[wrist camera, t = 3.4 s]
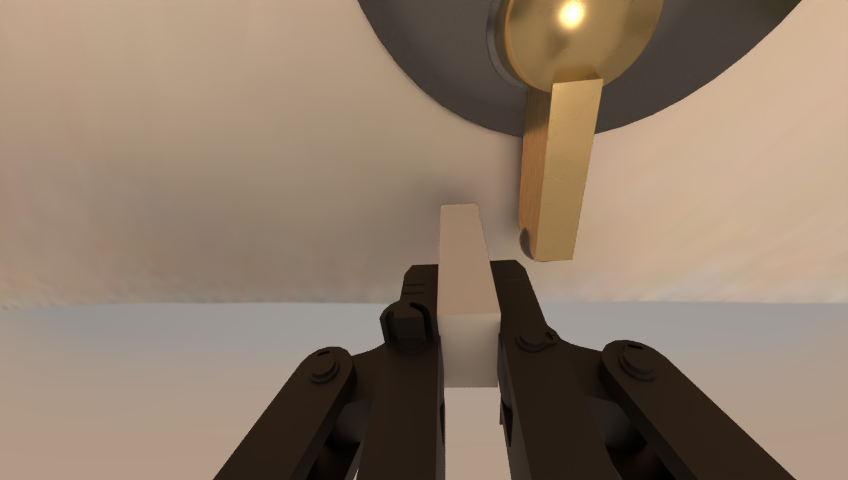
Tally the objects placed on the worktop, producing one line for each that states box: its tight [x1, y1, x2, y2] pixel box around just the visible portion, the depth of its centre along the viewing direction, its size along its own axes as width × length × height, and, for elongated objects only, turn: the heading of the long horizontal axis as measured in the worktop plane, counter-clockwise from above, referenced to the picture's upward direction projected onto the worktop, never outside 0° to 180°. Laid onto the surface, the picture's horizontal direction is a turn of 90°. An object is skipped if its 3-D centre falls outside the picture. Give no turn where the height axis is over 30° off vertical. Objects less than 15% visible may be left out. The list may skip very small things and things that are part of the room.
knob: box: [494, 0, 664, 262], centre depth 14 cm, size 14×5×4 cm, turn 5°
